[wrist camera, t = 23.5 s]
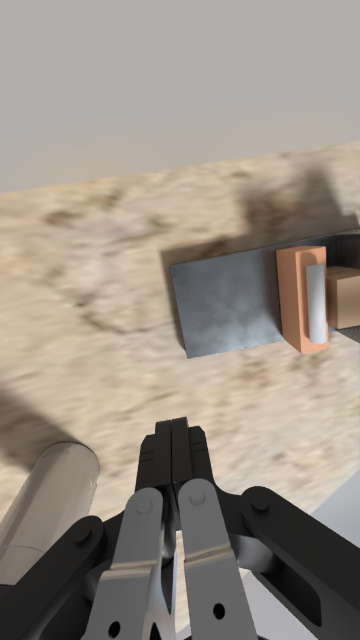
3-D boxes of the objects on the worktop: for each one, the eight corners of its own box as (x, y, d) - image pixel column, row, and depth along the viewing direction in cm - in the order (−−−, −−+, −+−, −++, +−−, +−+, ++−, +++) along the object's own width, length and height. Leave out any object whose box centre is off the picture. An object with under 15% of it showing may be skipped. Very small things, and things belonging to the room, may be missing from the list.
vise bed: (360, 319, 36) (411, 340, 29) (186, 352, 37) (191, 382, 29) (360, 228, 33) (419, 224, 25) (169, 265, 33) (169, 272, 26)
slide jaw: (305, 333, 34) (336, 354, 28) (282, 337, 34) (308, 359, 28) (301, 245, 31) (334, 246, 25) (275, 250, 31) (302, 253, 25)
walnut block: (335, 305, 33) (377, 321, 27) (304, 311, 34) (337, 329, 27) (334, 265, 32) (378, 272, 25) (302, 272, 32) (337, 280, 25)
